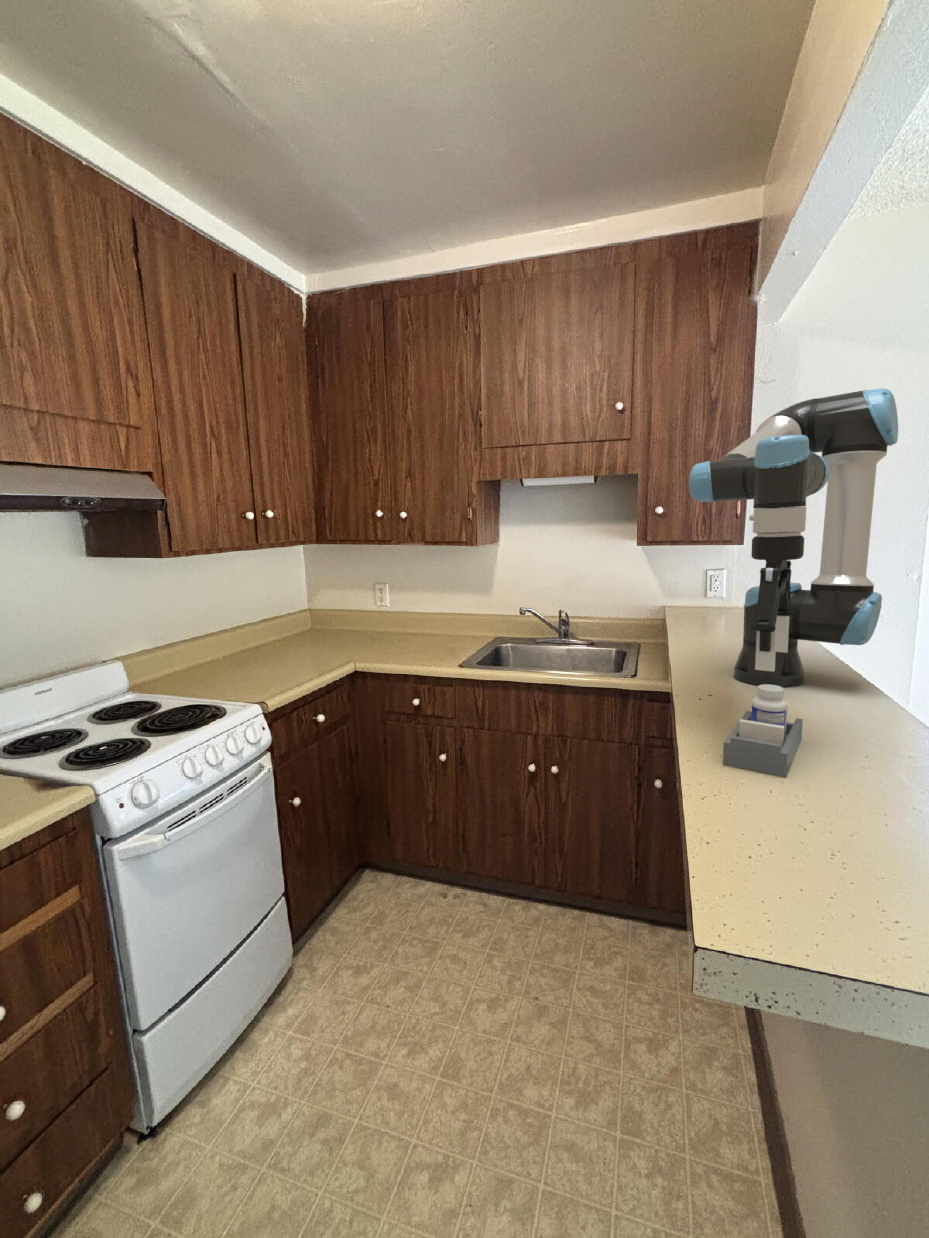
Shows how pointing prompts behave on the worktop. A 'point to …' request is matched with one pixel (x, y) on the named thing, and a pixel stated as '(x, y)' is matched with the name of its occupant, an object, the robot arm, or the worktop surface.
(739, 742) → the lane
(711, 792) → the worktop surface
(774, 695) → the pill bottle
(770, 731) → the pusher
